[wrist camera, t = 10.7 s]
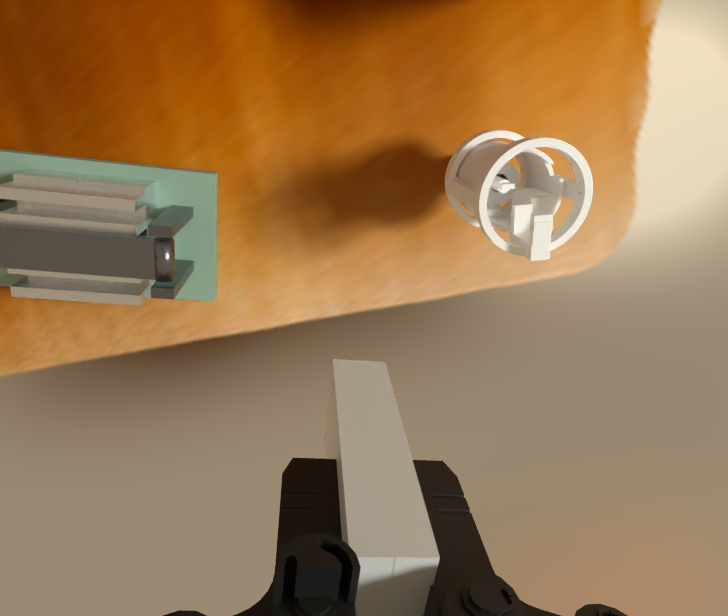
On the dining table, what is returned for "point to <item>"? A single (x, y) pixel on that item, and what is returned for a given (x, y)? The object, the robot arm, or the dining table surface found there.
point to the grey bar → (87, 252)
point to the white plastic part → (518, 190)
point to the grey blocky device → (92, 213)
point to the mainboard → (171, 190)
